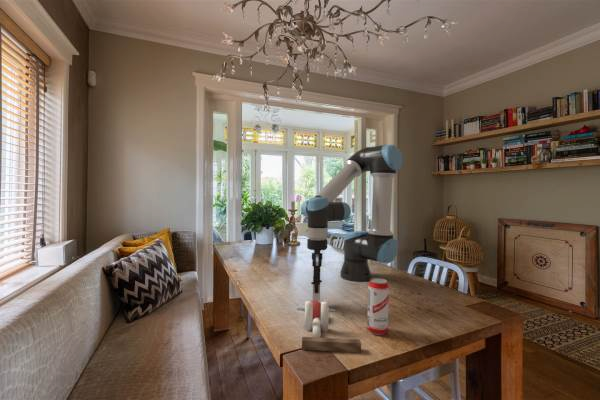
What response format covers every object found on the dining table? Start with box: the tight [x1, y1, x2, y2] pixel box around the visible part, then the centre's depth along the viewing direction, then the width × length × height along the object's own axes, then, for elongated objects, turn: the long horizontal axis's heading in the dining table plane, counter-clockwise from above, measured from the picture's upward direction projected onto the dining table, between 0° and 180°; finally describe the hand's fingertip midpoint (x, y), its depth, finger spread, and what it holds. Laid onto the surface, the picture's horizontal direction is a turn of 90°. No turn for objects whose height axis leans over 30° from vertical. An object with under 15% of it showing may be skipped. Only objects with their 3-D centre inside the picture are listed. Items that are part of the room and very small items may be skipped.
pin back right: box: [320, 301, 330, 333], centre depth 88 cm, size 2×2×8 cm
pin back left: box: [304, 300, 313, 332], centre depth 88 cm, size 2×2×8 cm
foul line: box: [296, 307, 337, 312], centre depth 103 cm, size 14×2×1 cm, turn 87°
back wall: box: [301, 336, 362, 353], centre depth 78 cm, size 16×2×2 cm, turn 87°
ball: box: [311, 299, 321, 320], centre depth 96 cm, size 6×6×6 cm
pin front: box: [312, 317, 322, 338], centre depth 87 cm, size 2×2×8 cm
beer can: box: [366, 277, 390, 336], centre depth 88 cm, size 6×6×16 cm
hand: (316, 300), depth 107 cm, fingers closed
